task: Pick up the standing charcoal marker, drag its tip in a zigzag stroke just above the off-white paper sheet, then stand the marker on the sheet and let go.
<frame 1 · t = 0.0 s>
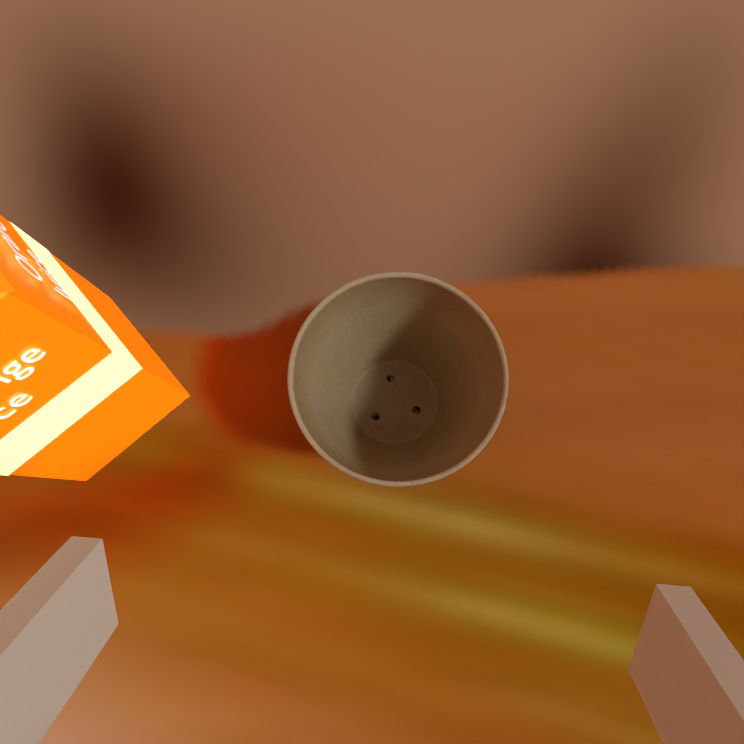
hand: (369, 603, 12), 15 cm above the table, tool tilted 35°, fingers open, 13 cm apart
flower pot: (394, 405, 29), on the table
orange juice: (101, 385, 30), on the table
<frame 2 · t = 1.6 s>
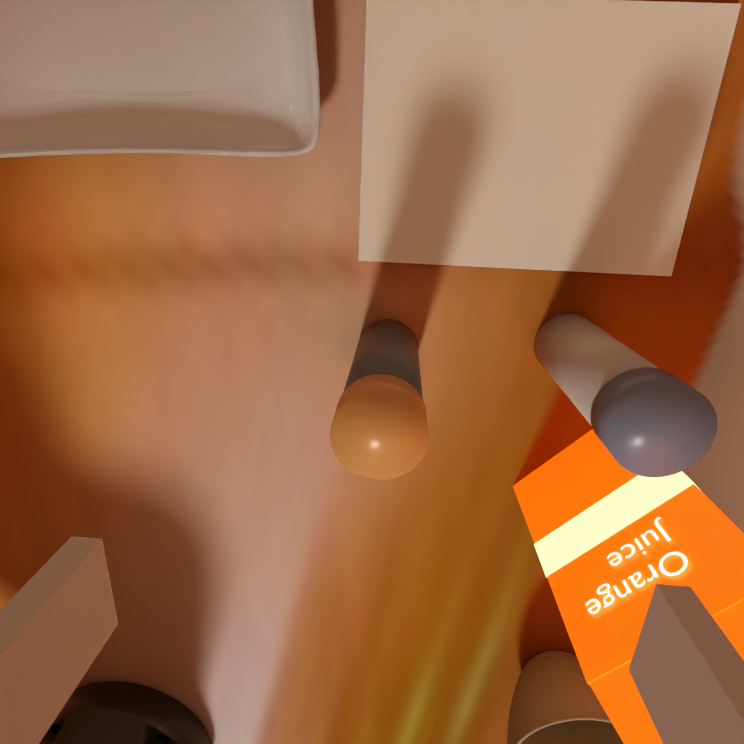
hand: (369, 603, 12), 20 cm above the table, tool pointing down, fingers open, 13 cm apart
flower pot: (552, 669, 40), on the table
marker: (387, 348, 31), on the table
orange juice: (596, 483, 34), on the table
paper: (527, 146, 26), on the table
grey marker: (565, 343, 30), on the table
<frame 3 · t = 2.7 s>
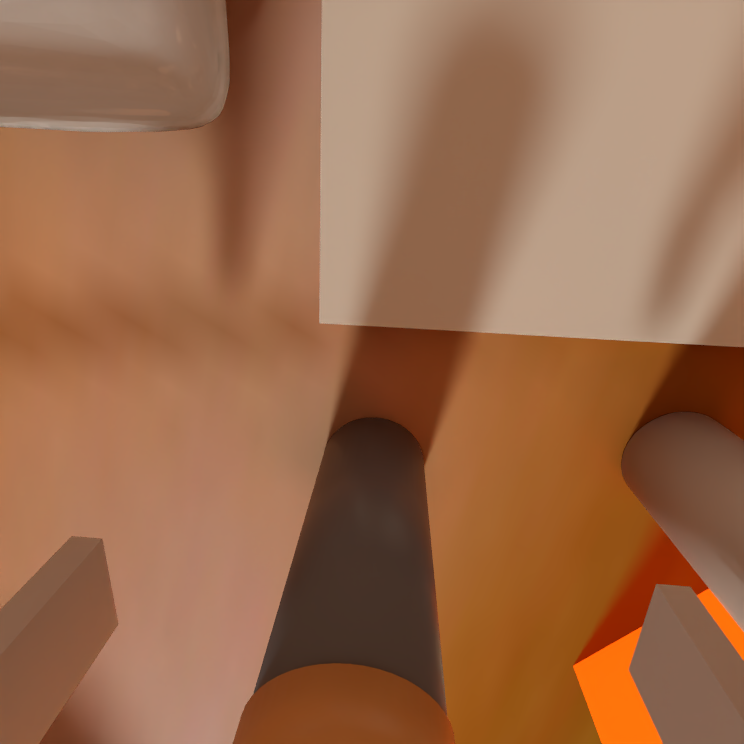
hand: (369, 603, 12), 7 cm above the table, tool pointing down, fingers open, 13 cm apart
marker: (373, 463, 18), on the table
orange juice: (706, 662, 21), on the table
paper: (633, 116, 14), on the table
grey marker: (675, 459, 18), on the table, touching gripper
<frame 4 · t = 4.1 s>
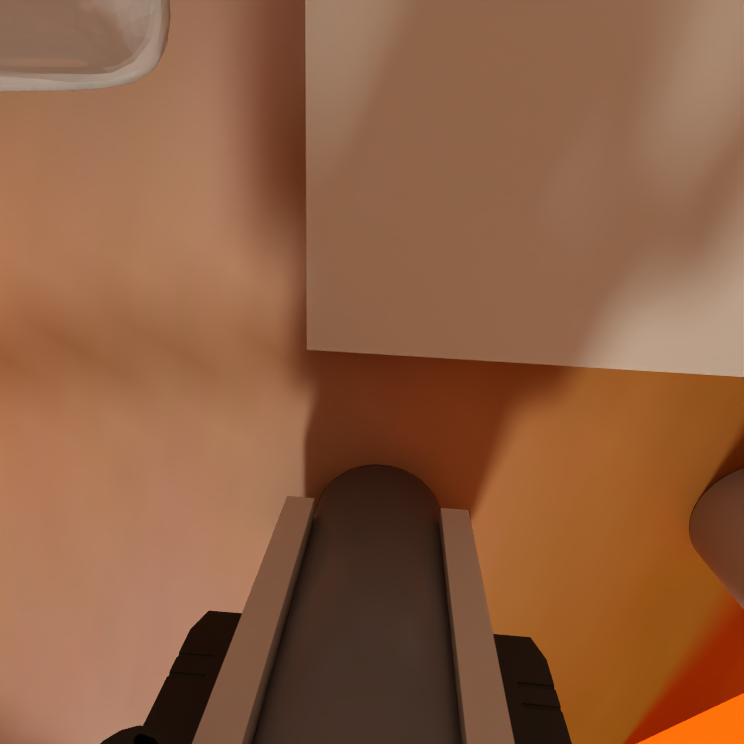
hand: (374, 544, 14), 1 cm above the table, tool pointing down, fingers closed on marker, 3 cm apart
marker: (378, 519, 15), on the table, touching gripper
paper: (734, 73, 10), on the table
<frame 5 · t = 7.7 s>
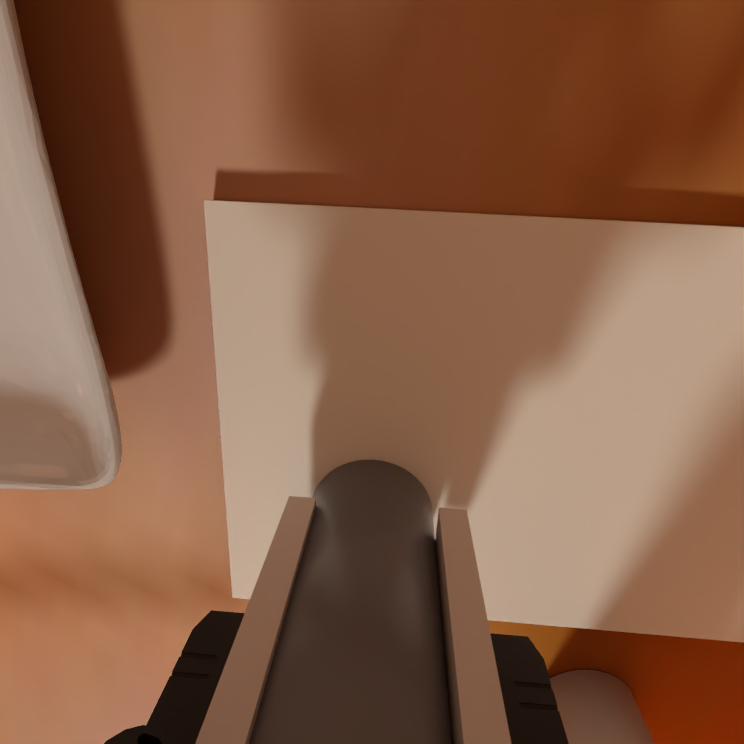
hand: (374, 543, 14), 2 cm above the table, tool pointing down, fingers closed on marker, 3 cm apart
marker: (371, 512, 15), point 1 cm above the table, touching gripper, paper
paper: (519, 442, 15), on the table
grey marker: (581, 705, 18), on the table
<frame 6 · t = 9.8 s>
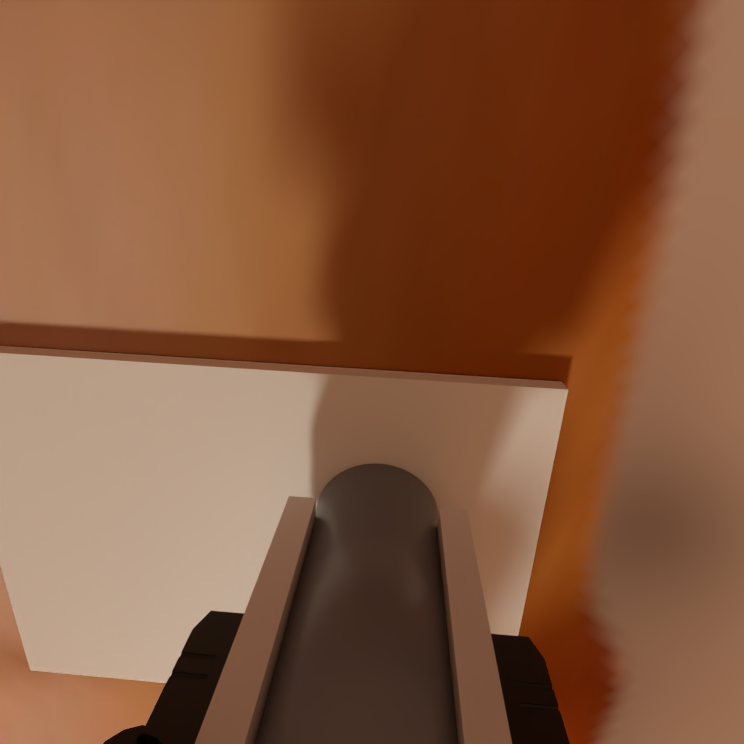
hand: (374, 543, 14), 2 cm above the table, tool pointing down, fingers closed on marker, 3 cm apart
marker: (376, 516, 15), point 1 cm above the table, touching gripper, paper
paper: (258, 541, 16), on the table
when the fingers open (2 cm above the table, at t = 11.4 s): marker stays where it is, resting on paper.
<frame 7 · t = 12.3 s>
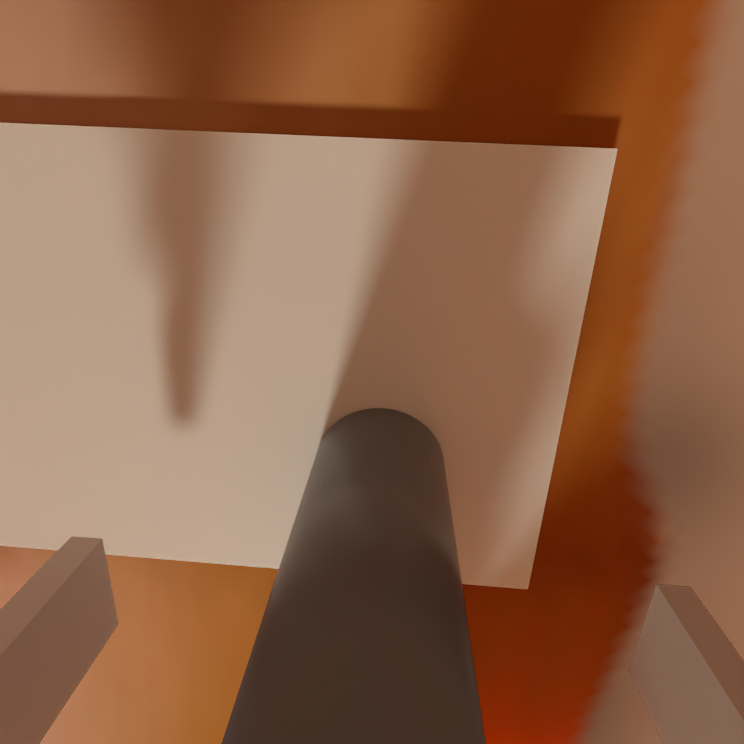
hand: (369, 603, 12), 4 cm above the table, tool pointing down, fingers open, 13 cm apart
marker: (379, 466, 14), point 1 cm above the table, touching paper
paper: (250, 378, 14), on the table
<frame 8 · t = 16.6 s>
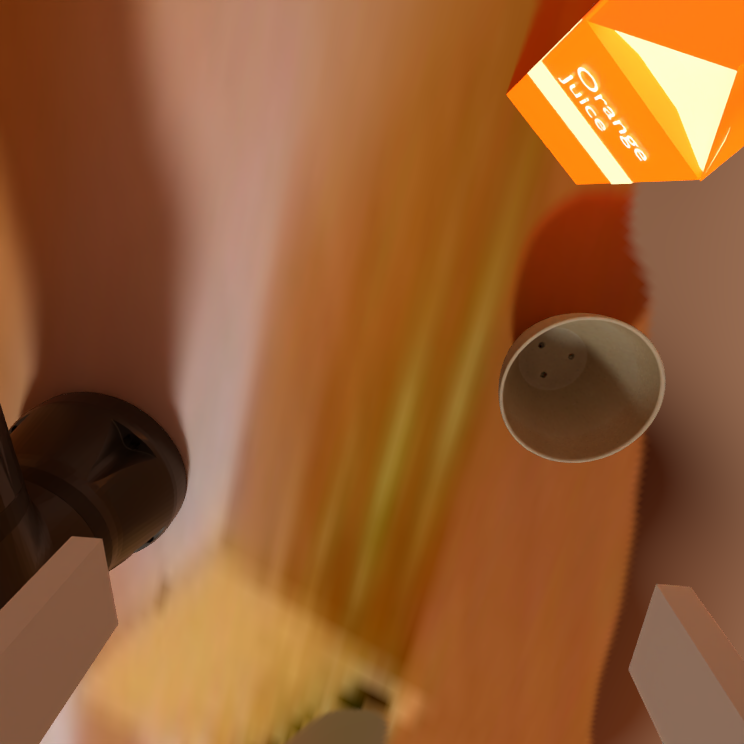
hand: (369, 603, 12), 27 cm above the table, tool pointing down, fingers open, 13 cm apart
flower pot: (548, 356, 37), on the table
orange juice: (597, 88, 31), on the table
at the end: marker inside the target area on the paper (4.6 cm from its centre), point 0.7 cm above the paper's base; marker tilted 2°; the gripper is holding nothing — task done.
